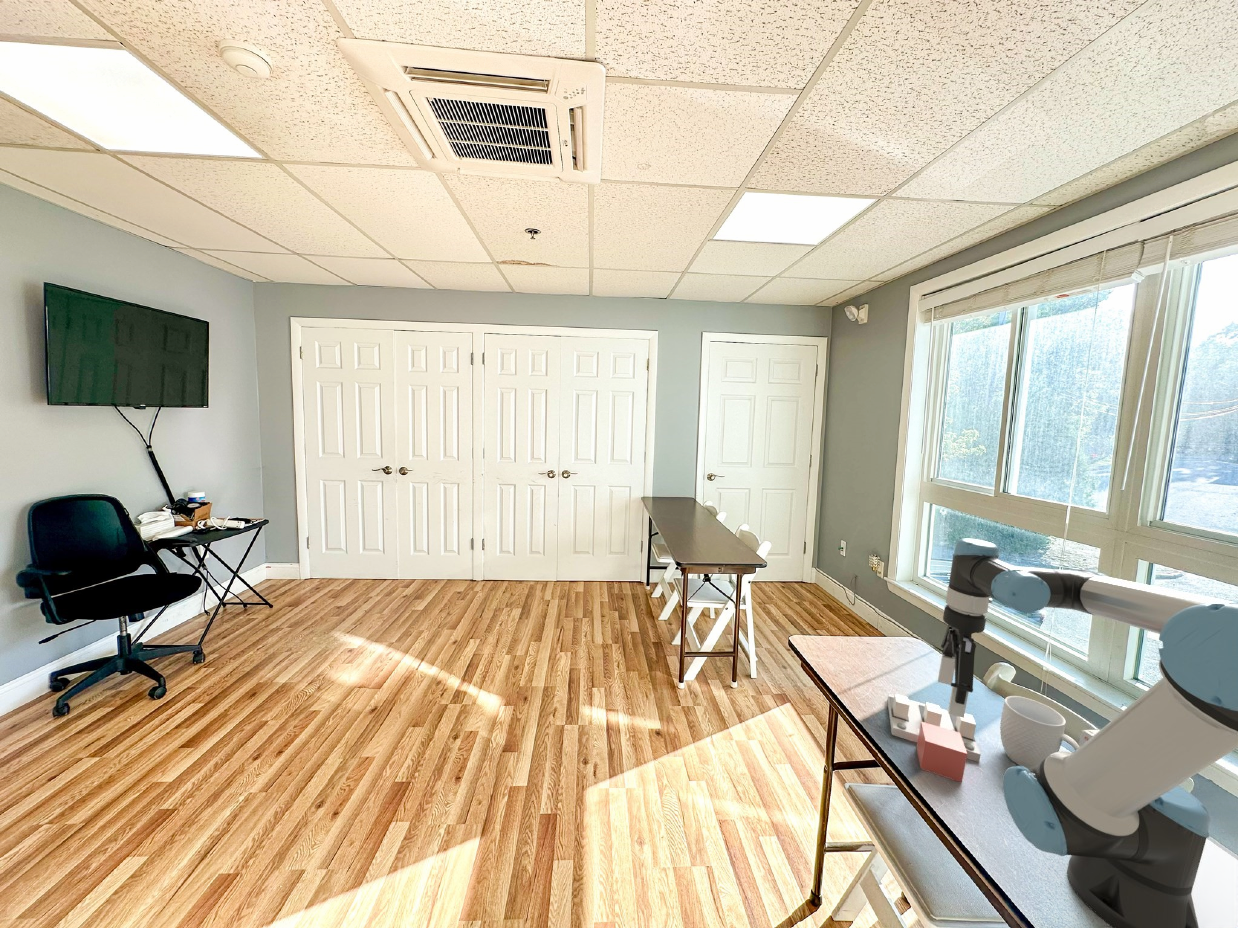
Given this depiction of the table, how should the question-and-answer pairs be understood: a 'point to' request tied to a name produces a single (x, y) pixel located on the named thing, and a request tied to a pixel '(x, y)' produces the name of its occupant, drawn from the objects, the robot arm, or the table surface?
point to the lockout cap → (941, 751)
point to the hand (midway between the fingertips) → (949, 698)
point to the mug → (1031, 731)
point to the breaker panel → (915, 716)
